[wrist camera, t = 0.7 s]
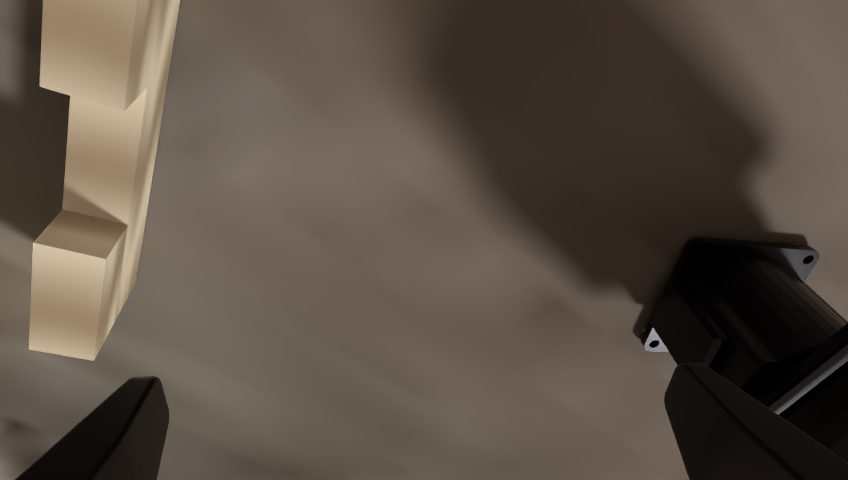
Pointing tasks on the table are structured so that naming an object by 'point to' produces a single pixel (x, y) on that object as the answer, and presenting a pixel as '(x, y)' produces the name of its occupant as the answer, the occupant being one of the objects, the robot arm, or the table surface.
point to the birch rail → (99, 163)
